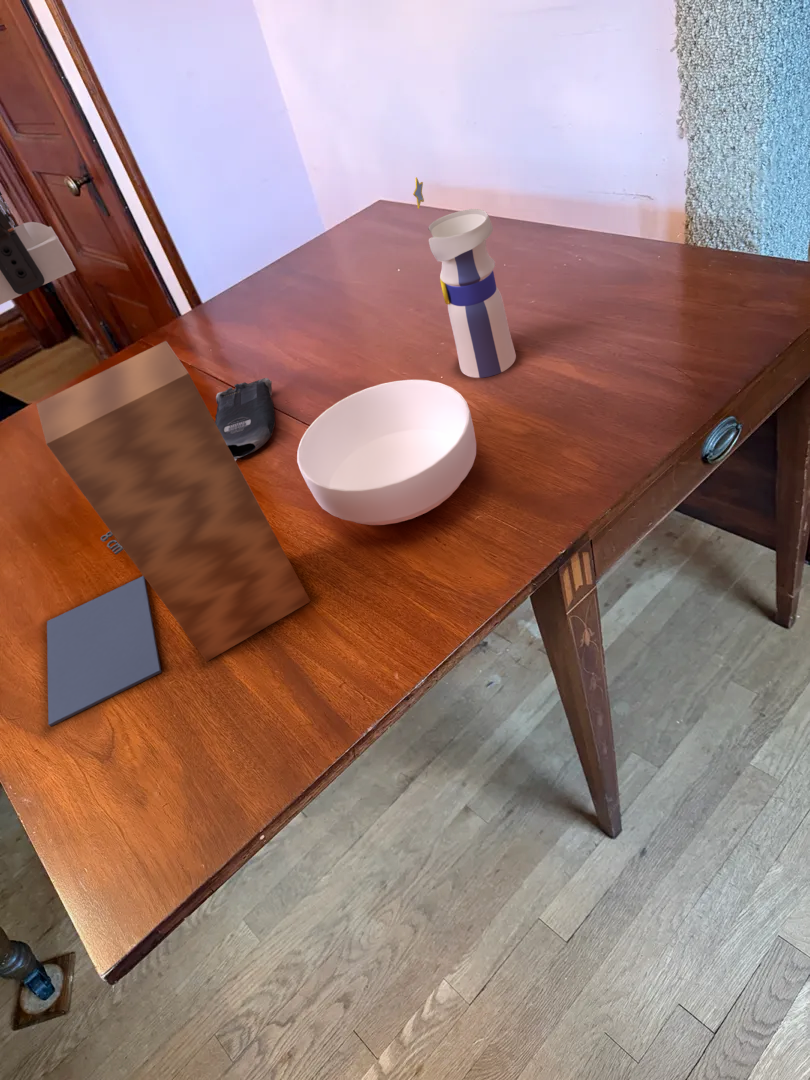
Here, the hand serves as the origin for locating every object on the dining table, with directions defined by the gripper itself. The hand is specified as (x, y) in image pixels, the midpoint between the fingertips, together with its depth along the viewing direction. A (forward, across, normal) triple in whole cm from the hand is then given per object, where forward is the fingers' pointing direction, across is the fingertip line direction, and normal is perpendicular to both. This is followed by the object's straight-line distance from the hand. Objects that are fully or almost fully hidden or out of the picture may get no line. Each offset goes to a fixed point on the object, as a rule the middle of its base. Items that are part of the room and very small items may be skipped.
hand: (28, 278), depth 54 cm
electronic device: (+38, -33, +12) cm, 52 cm away
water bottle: (+38, -19, +44) cm, 61 cm away
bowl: (+38, -4, +22) cm, 45 cm away
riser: (+38, 0, +1) cm, 38 cm away
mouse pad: (+38, -6, -15) cm, 41 cm away
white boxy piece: (0, 0, 0) cm, 0 cm away
